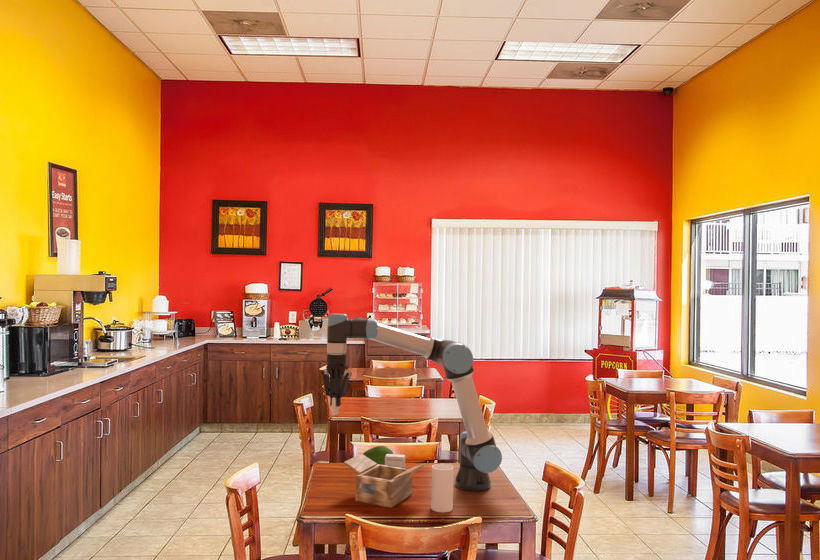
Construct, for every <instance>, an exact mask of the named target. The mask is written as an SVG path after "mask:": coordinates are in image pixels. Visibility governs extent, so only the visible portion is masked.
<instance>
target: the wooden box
mask: <svg viewBox="0 0 820 560" xmlns="http://www.w3.org/2000/svg"><path fill="white" fill-rule="evenodd" d="M408 469H409V468H406V467H405V468H399V467H393V466H387V465H380V464H377V465H375V466H373V467H371V468H370V469H368V470H366V471H364V472H362V473H360V474H359V473H357V474H356V475H355V502H360V503H363V504H369V505H374V506H379V507H384V508H389V509H392V508H394V507H395V506H397V505H398V504H400V503H401V502H403V501H404V500H406V499H408V498H409V497H410V496H412V495H413V473H412V474H410V475H407V476H404V477H401V478H398V479H395V480H394V479H393V478H394V477H396V476H397V475H399V474H401V473H403V472H404V471H406V470H408Z"/></svg>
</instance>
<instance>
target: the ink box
mask: <svg viewBox="0 0 820 560" xmlns="http://www.w3.org/2000/svg"><path fill="white" fill-rule="evenodd" d="M385 465H387V466H393V467H399V468H405V469H406V454H395V453H393V454H386V456H385Z"/></svg>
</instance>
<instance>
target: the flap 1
mask: <svg viewBox="0 0 820 560" xmlns="http://www.w3.org/2000/svg"><path fill="white" fill-rule="evenodd" d="M343 464H344V465H346V466H347V467H348V468H350V469H351V470H353V471H355V472H356V473H357V474H360V473H362V472H364V471H366V470H368V469H370V468H371V467H373V466H375V465H377V463H375V462H374V461H372V460H371V459H369V458H368V457H366V456H365V455H363V453H360V454H358V455H356V456H354V457H351V458H350V459H347V460H345V461H344V462H343Z"/></svg>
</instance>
